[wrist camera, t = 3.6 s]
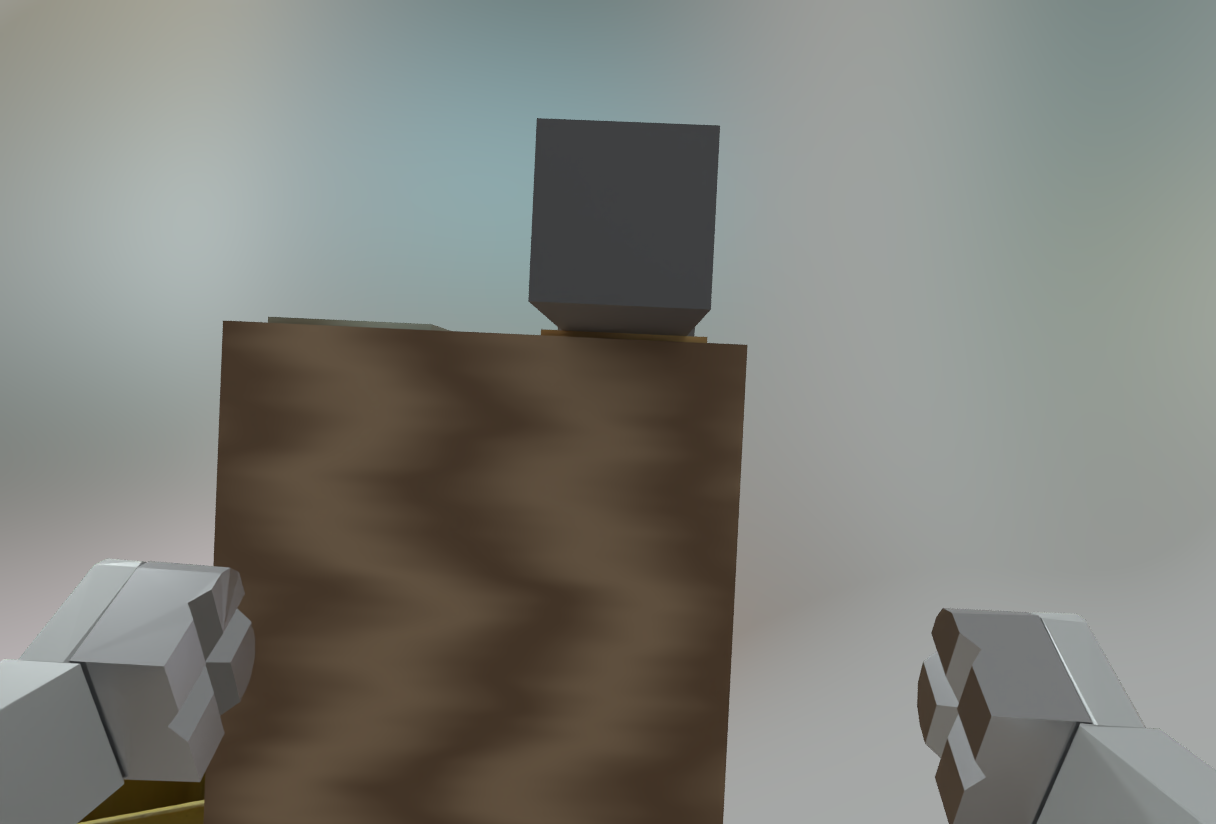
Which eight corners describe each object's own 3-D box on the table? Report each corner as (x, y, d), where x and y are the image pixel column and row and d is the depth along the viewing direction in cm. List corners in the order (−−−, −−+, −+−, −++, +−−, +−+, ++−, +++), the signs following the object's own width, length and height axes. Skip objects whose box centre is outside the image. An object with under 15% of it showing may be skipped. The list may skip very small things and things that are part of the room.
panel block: (188, 1209, 27) (223, 313, 27) (325, 959, 39) (350, 338, 39) (701, 1246, 27) (747, 338, 26) (680, 982, 39) (712, 355, 38)
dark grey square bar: (503, 300, 18) (514, 66, 18) (568, 346, 36) (573, 228, 36) (736, 310, 18) (748, 75, 18) (685, 351, 36) (691, 233, 36)
